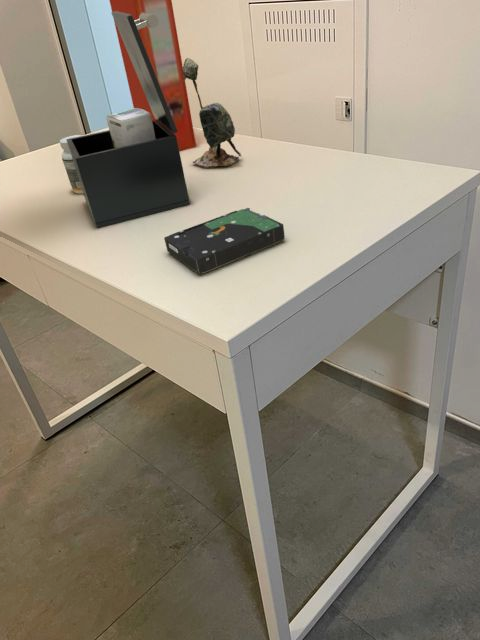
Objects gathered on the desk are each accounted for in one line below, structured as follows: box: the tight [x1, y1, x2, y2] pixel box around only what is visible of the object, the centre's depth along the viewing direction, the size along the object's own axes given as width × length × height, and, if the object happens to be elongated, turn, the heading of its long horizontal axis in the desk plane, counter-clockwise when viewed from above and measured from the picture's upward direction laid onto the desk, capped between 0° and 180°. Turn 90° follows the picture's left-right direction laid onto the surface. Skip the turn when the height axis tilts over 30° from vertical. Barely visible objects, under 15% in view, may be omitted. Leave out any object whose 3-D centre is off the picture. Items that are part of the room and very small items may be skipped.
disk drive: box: [163, 207, 286, 275], centre depth 81 cm, size 10×3×15 cm
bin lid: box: [110, 11, 178, 133], centre depth 90 cm, size 17×14×5 cm
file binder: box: [108, 0, 197, 152], centre depth 121 cm, size 8×17×32 cm, turn 29°
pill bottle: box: [59, 134, 84, 194], centre depth 107 cm, size 6×6×10 cm
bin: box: [66, 120, 191, 229], centre depth 97 cm, size 17×14×12 cm
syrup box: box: [105, 107, 156, 148], centre depth 96 cm, size 6×6×14 cm
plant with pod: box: [182, 57, 242, 168], centre depth 108 cm, size 8×11×20 cm
